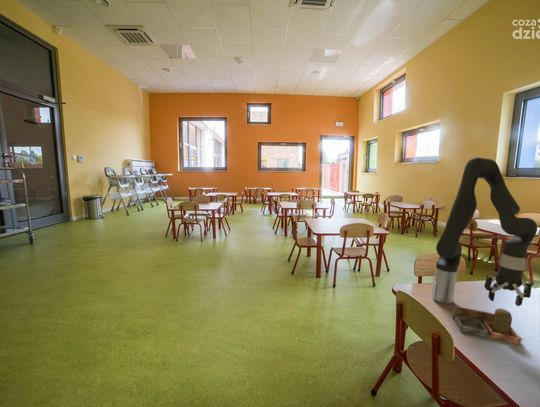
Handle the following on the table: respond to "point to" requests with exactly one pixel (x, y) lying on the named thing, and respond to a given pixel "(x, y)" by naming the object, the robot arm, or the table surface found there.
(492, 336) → the shaker rack
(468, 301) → the table surface
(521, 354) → the table surface
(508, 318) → the cork
